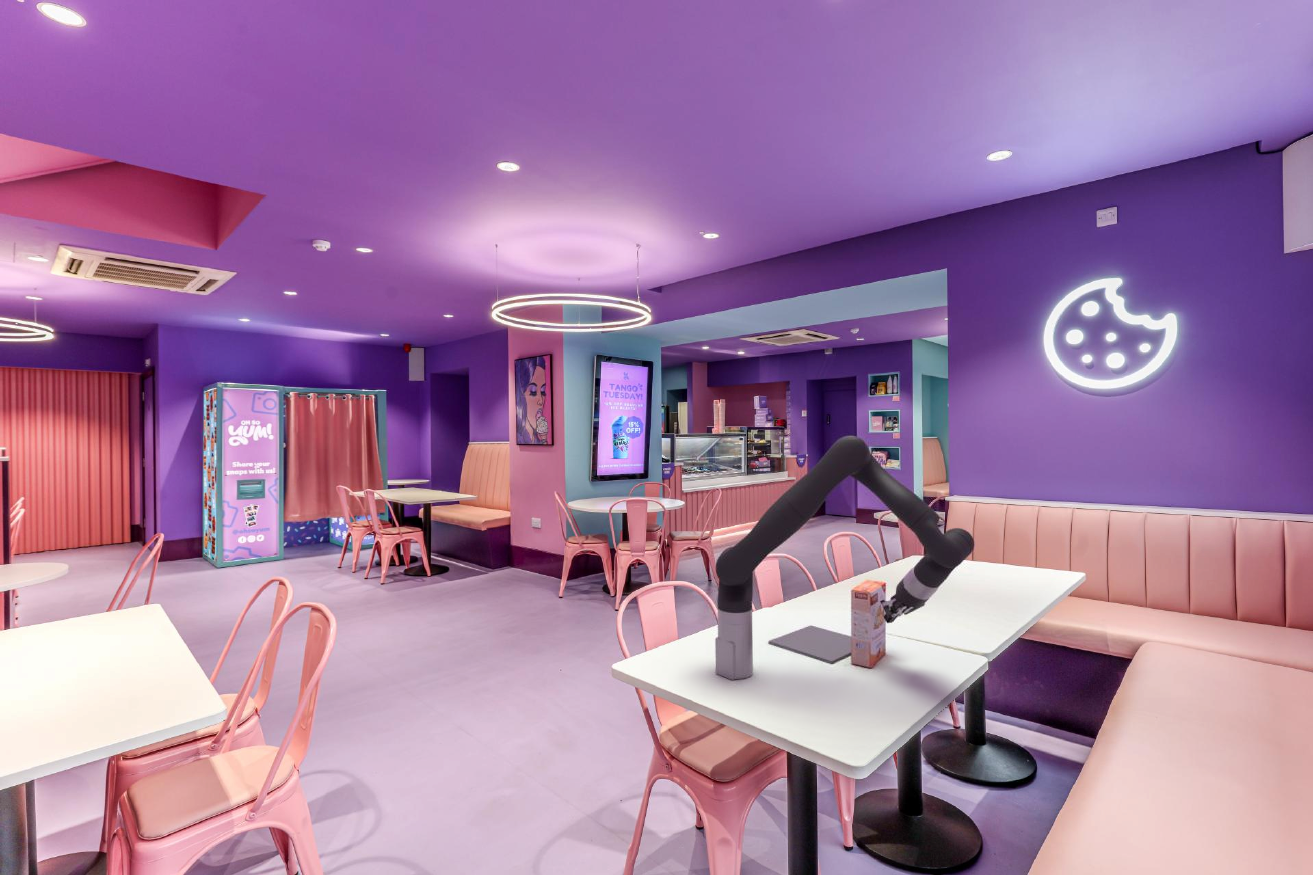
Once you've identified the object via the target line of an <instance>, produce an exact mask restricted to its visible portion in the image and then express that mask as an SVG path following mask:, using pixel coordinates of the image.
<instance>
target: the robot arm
mask: <svg viewBox="0 0 1313 875" xmlns="http://www.w3.org/2000/svg"><path fill="white" fill-rule="evenodd" d="M848 477H851V478H853V479H854V480H856V481H857V482H859V483H860V484H862V485H863V486H864V487H866V488H867V489H868V490H869V491H870V492H872V493H873V494H874V495H875V496H876V497H877V498H878V499H879V500H880V501H881V503H883V504H884V505H885V506H886V507H887V509H888V510H890V512H891V513H892V514H893V515H895V516H896V518H898V519H899V521H901V522H902V523H903V524H904V525H905V526H906V527H907V528H908V529H909V530H911V532H913V533H914V534H915V536H916V538H917V539H918V541H919V543H921V545H922V547H923V548H924V550H925V551H926V554H924V556H922V557H921V559H920V560H919V561H918V562H917V563H916V564H915V566H913V567H912V568H911V569H910V570H909V571H907V573H906V574H905V575H904V576H903V577H902V579H901V580H900V581H899V583H898V584H897V585H896V587H895V594H893V595H892V596H891V597H890V599H889V600H886V601H885V600H881V601H880V603H881V605H882V607H883V609H884V611H885V612H886V614H885V615H884V619H885V621H886V624H891V623H894V621H895V620H896V619H897V618H898V617H901V616H902V615H904V616H906V615H909V614H911V613H912V612H915V611H916V610H918V609H920V608H923V607H924V606H926V603H927V602H928V601H929V600H930V598H932V597H933V595H935V593H937V591H938V589H939V588H940V586H941V585H943V583H944V582H945V581H946V580H947V579H948V578H949V576H950V574H951V573H952V572H953V571H954V570H955V568H957V567H958V566H960V565H961V564H962V563H963V562H964V561H965V560H967V559H968V557H969V556H970V555H972V553H973V551H974V548H975V540H974V538H973V536H972V534H971V533H970V532H969V531H967V530H966V529H964V528H959V527H953V528H950V529H948V530H946V531H945V532H944V533H943V532H942V531H941V530H940V528H939V525H938V523H939V522H940V516H939V514H938V513H937V512H936V511H935V510H934V509H933V508H932V507H931V506H930V505H928V504H927V503H926V502H925V501H924V500H923V499H921V497H919V495H917V494H916V493H914V491H912V490H911V489H909V488H908V487H907V486H905V485H904V484H902V483H901V482H900V481H898V480H897V479H896V478H894V477H893V476H892V475H891V474H890V473H889V472H888V471H887V470H886V469H885V468H884V467H883V466H882V465H881V464H880V463H879V461H878V460H877V459H876V458H875V456H873V454H872V453H871V450H870V449H869V446H868V444H867V443H866V442H865V440H864V439H862V438H861V437H859V436H855V435H845V436H842V437H840V438H839V439H837V440H836V441H835V442H834V443H833V444H832V445H831V446H830V448H829V449H828V450H827V451H826V452H825V454H824V455H823V456H822V457H821V459H820V460H818V462H817V463H816V464H815V465H814V466H813V467H812V469H810V470H809V471H808V472H807V473H806V474H805V475H804V476H802V477H801V478H800V479H798V481H796V482H795V483H794V484H793V485H792V486H791V487H789V489H787V490H786V491H785V492H784V493H783V494H782V495H781V496H780V497H779V498H778V499H777V500H776V501H775V502H773V504H772V505H771V506H770V507H769V508H767V510H766V511H765V513H763V515H762V516H761V517H760V519H759V520H758V521H757V522H756V524H755V525H754V526H753V528H752V529H751V530H750V531H749V533H747V534H746V536H744V537H743V538H742V539H741V540H739V541H738V542H737V543H736V544H735V545H733V546H729V547H727V548H725V549H724V550H723V551H722V552H721V553H720V554H719V556H718V558H717V559H716V563H715V573H716V576H717V579H718V592H717V637H715V640H714V644H715V647H714V648H715V649H714V651H715V652H714V653H715V674H717V675H719V676H721V677H724V678H727V679H729V680H732V681H734V680H740V679H742V680H743V679H747V678H750V677H751V676H752V675H753V673H754V660H753V659H754V656H753V655H754V653H753V651H754V650H753V645H754V644H753V643H754V642H753V598H754V597H753V596H754V595H753V594H754V590H753V589H754V585H753V584H754V581H753V580H754V577H753V576H754V575H753V574H754V571H755V570H756V569H757V568H758V566H759V565H760V564H761V563H762V561H764V560H765V558H767V556H769V555H770V554H771V553H773V551H774V550H776V549H778V548H779V547H780V546H781V545H783V543H785V542H787V541H788V540H789V539H790V538H791V537H792V536H794V534H796V533H797V532H798V531H799V530H800V529H802V527H804V526H805V525H806V524H807V523H808V522H809V521H810V520H811V519H812V518H813V517H814V515H815V514H816V513H817V512H818V511H819V509H820V508H821V506H822V505H823V503H824V502H825V501H826V499H827V498H828V496H829V495H830V493H832V491H833V490H834V489H835V488H836V487H838V486H839V485H840V484H841V483H842V482H843V481H844V480H846V479H847V478H848Z"/></svg>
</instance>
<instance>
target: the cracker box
mask: <svg viewBox="0 0 1313 875" xmlns="http://www.w3.org/2000/svg"><path fill="white" fill-rule="evenodd" d="M886 584H887V583H886V582H884V581H878V580H871V579H866V580H865V581H863V582H861V583H859V584H857V585H856V586H855V587H853V588H851V590H850V612H851V613H850V636H851V655H850V663H851V665H856V666H860V667H864V668H868V669H872V668H873V666H874V665H875V664H877V662H878V661H880V660H881V658H882V657H884V655H886V643H887V642H886V641H887V640H886V638H887V637H886V633H887V632H886V628H887V627H886V626H887V622H886V621H885V619H884V615H885V614H886V612H885V611H884V609H883V607H882V605H881V603H880V601H881V600H885V601H887V597H886V596H887V594H886V593H887V588H886V587H887V585H886Z"/></svg>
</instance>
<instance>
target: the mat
mask: <svg viewBox="0 0 1313 875" xmlns="http://www.w3.org/2000/svg"><path fill="white" fill-rule="evenodd" d="M767 643H768V644H769V645H772V646H774V647H779V648H782V649H784V650H788V651H791V652H793V653H796V654H800V655H802V656H805V657H809V658H812V659H815V660H818V661H821V662H824V663H828V664H831V665H833V664H835V663H837V662H839V661H842V660H843V659H847V658H848V657H851V635H848V634H844V633H840V632H837V631H833V630H829V629H825V628H822V627H819V626H814V625H807V626H804V627H802V628H800V629H797V630H793V631H791V632H789V633H786V634H783V635H781V636H777V637H776V638H772V639H770V640H768V642H767Z"/></svg>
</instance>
